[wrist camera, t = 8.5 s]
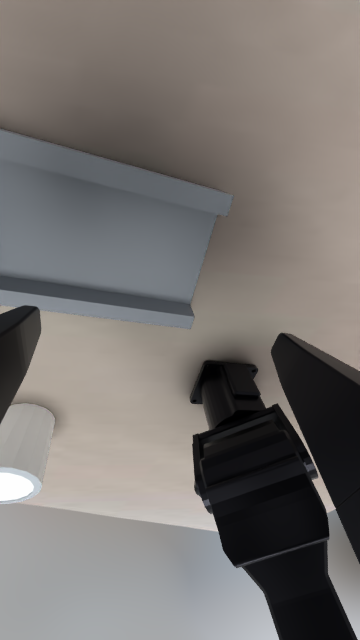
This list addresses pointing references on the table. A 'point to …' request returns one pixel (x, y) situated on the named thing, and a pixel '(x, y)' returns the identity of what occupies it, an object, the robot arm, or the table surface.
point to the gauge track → (100, 234)
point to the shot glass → (24, 451)
